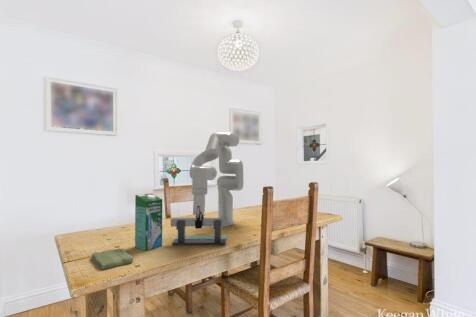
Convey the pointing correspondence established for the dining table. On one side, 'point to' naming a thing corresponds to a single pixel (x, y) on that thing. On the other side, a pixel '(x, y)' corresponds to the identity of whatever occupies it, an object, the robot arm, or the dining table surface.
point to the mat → (202, 238)
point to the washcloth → (111, 258)
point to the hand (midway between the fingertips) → (199, 226)
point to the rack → (182, 240)
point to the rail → (204, 221)
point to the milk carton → (148, 221)
